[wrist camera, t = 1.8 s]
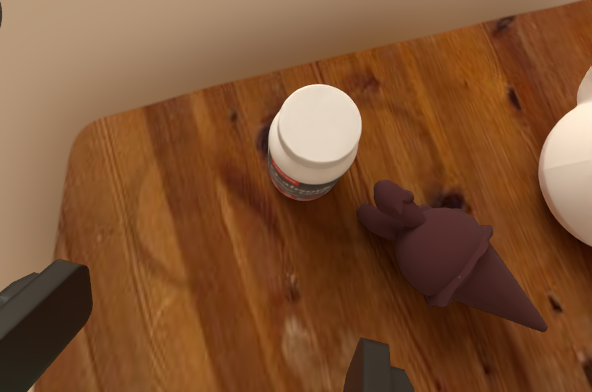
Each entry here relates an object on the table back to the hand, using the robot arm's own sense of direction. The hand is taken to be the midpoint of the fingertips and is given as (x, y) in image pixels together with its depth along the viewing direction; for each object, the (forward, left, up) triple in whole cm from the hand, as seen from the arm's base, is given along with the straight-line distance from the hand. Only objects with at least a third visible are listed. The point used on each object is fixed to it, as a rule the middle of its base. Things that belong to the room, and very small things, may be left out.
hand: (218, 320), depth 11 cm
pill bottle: (+3, +10, -18) cm, 21 cm away
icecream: (+14, +4, -18) cm, 23 cm away
